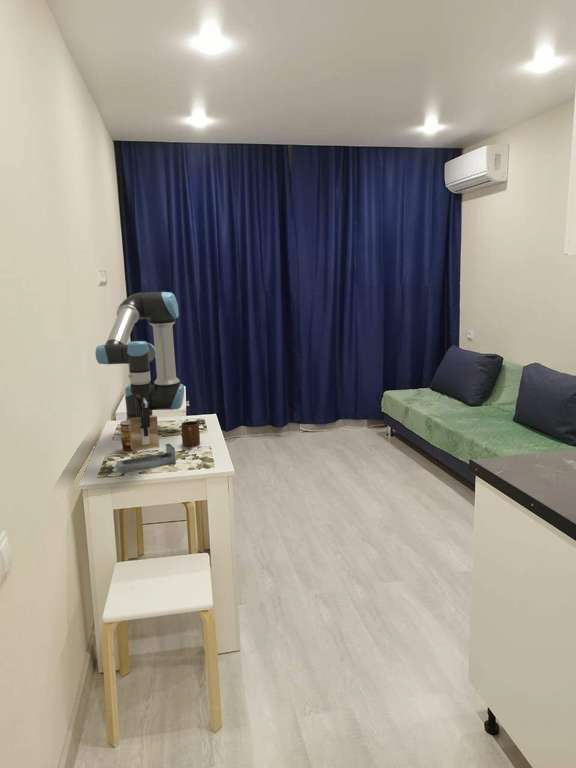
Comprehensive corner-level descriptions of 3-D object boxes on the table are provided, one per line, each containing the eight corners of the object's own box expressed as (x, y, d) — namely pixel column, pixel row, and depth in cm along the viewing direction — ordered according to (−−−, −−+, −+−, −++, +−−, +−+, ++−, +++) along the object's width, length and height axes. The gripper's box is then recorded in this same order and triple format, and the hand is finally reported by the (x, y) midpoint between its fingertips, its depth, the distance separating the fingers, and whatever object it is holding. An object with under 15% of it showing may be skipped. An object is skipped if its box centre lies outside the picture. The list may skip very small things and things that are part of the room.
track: (116, 467, 217) (115, 452, 216) (170, 457, 227) (169, 443, 226) (120, 472, 211) (119, 457, 210) (175, 462, 221) (174, 448, 220)
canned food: (119, 452, 236) (117, 424, 234) (125, 446, 244) (123, 419, 242) (138, 452, 236) (136, 424, 234) (143, 446, 244) (141, 419, 241)
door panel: (131, 449, 217) (128, 418, 215) (157, 445, 221) (154, 415, 219) (133, 451, 214) (130, 420, 212) (159, 446, 219) (157, 416, 217)
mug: (199, 449, 237) (198, 427, 236) (181, 450, 236) (179, 428, 235) (200, 441, 249) (199, 420, 247) (182, 442, 248) (181, 421, 246)
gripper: (125, 380, 218) (130, 439, 223) (135, 387, 204) (140, 449, 209) (144, 378, 222) (149, 436, 226) (156, 384, 208) (160, 446, 212)
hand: (144, 442), depth 217 cm, fingers closed on door panel, 3 cm apart
